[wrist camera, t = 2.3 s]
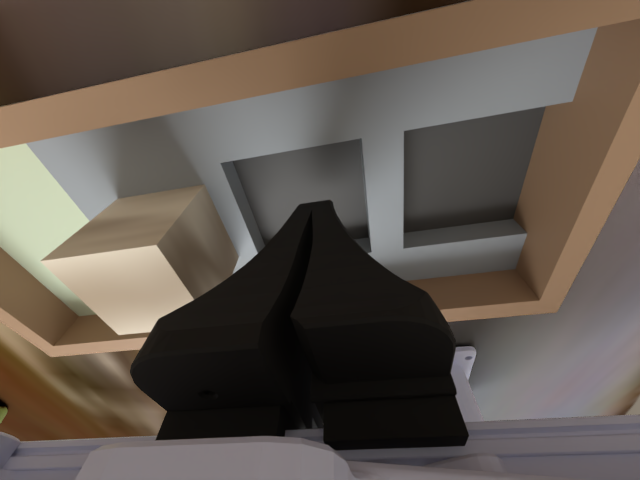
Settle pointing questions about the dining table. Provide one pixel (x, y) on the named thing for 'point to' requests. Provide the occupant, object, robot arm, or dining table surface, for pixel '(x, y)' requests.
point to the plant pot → (2, 413)
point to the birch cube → (146, 257)
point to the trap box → (350, 154)
